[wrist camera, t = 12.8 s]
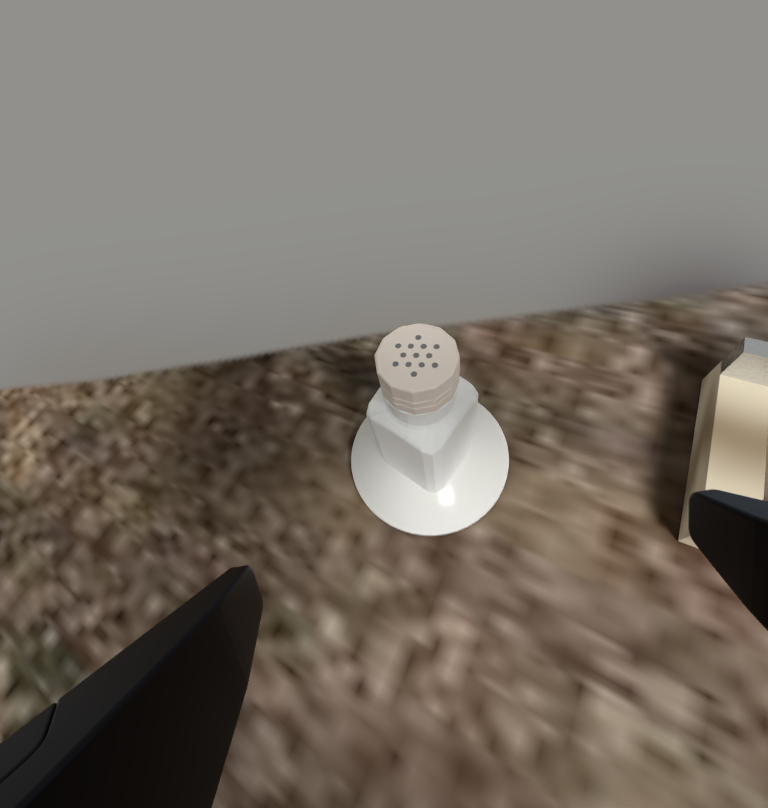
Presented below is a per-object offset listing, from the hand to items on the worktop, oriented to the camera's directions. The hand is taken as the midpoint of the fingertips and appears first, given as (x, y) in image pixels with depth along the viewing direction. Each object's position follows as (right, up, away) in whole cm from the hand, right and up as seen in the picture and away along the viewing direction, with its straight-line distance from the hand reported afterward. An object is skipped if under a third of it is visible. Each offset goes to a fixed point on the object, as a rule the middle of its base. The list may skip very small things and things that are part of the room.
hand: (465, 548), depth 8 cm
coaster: (+1, 0, +15) cm, 16 cm away
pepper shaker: (+1, 0, +15) cm, 15 cm away
